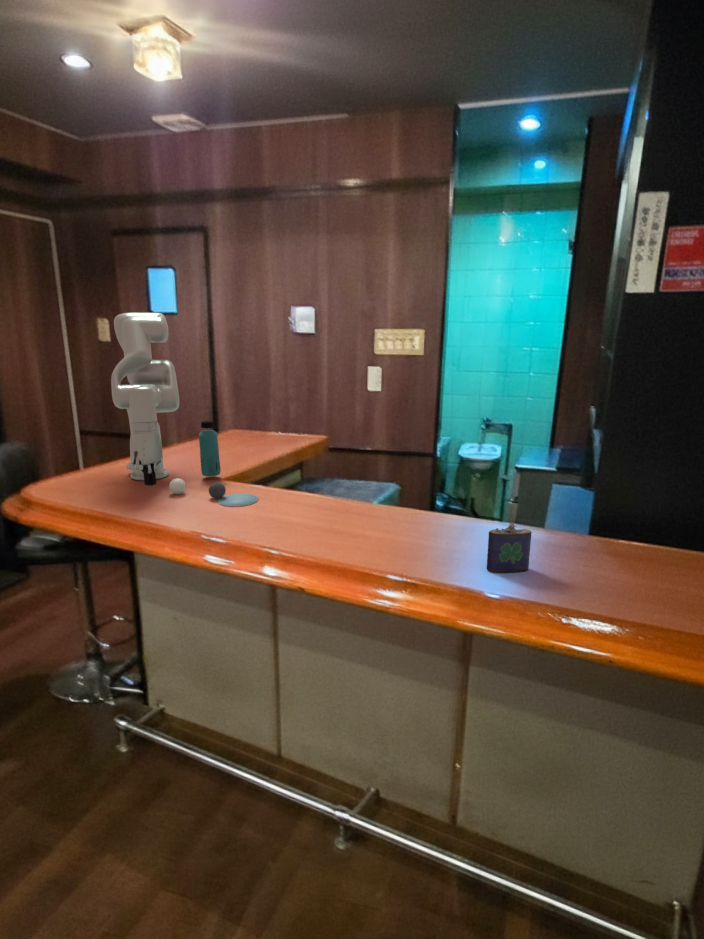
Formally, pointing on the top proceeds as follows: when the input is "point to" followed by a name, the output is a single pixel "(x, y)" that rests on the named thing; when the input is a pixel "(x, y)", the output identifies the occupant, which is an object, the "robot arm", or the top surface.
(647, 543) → the top surface
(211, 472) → the beverage bottle
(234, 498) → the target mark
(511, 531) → the flask
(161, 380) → the robot arm
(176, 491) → the cue ball
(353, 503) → the top surface
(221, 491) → the object ball
